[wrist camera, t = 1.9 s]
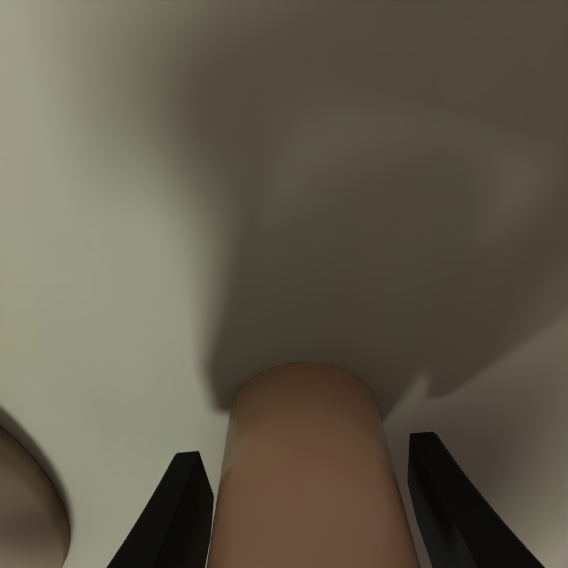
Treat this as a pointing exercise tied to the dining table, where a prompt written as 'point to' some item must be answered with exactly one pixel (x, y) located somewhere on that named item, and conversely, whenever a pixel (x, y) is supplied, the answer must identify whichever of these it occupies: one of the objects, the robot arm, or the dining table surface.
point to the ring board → (29, 512)
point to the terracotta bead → (308, 477)
